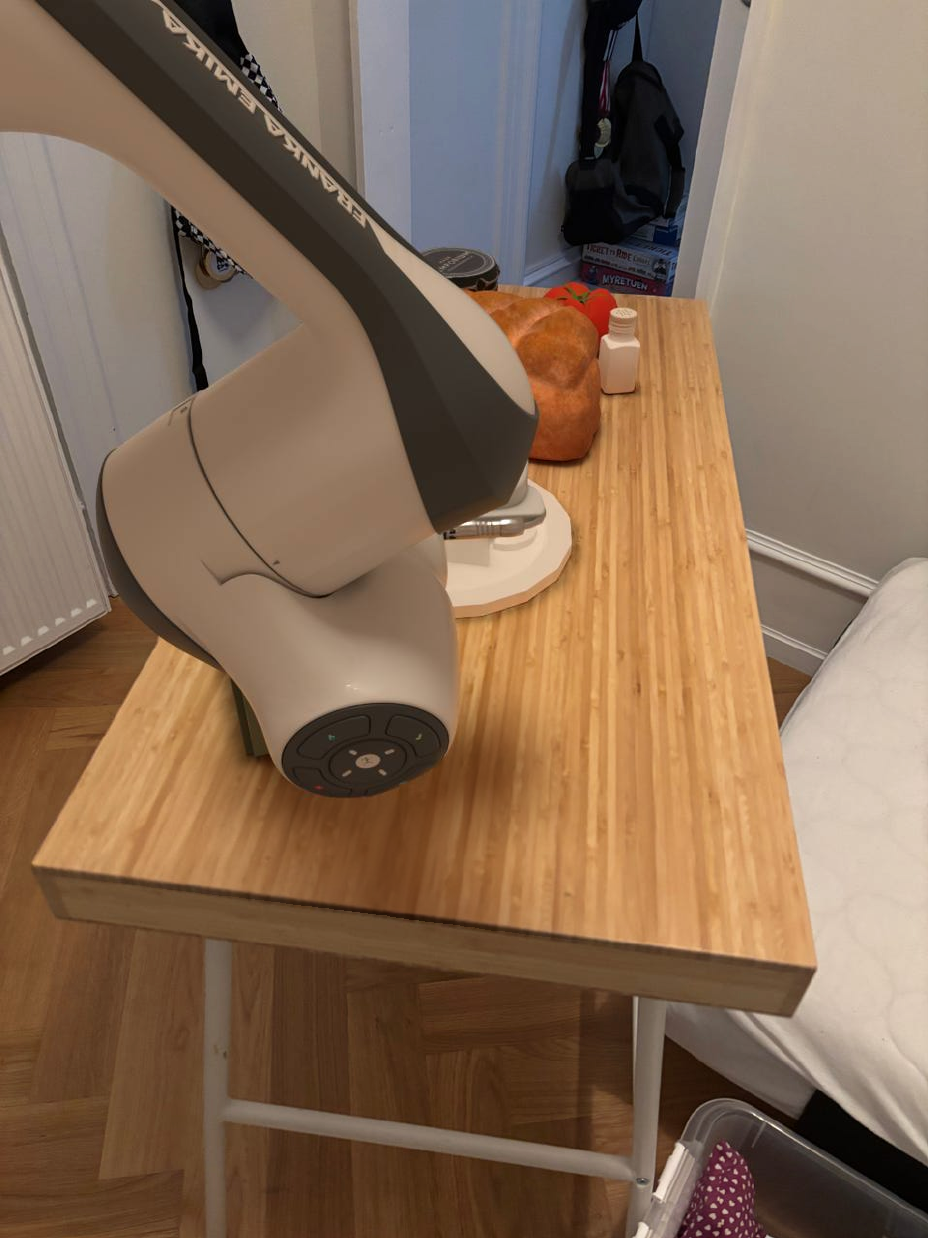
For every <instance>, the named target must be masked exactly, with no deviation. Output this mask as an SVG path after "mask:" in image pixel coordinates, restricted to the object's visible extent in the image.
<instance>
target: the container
mask: <svg viewBox="0 0 928 1238" xmlns="http://www.w3.org/2000/svg"><path fill="white" fill-rule="evenodd" d="M419 252H420V253H421V254H422V255H423V256H424V257H425V258H426V259H427V260H428V261H430V262H431V263H432V264H433V265H434V266H435V267H436V268H437V269H438V270H439V271H440V272H441V273H442V274H443V275H444V276H446V277H447V278H448V279H449V280H450V281H451V282H452V283H453V284H455V285H456V286H457V287H459V288H460V289H465V290H469V291H472V292H478V291H498V290H499V282H498V280H499V277H500V275H501V270H502V269H501V268H500V266H499V265H498V263H497V262H496V259H495V257H493V256H492V255H491V254H489V253H487V252H486V251H483V250H480V249H476V248H471V247H464V246H441V247H431V248H427V249H423V250H420V251H419ZM498 292H499V291H498Z"/></svg>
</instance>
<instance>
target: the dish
mask: <svg viewBox="0 0 928 1238" xmlns="http://www.w3.org/2000/svg"><path fill="white" fill-rule="evenodd" d="M527 484H528V485H530V486H532V487H534V488H536V489H537V490H538V491H539V492H540V494H541V496H542V499H543V502H544V505H545V509H546V517H545V519H544V521H543V523H542V524H540V525H537V526H535V527H533V528H530V529H525V530H524V534H523V535H520V536H516V537H505V538H504V537H498V538H486V539H464V540H444V543H445V550H446V557H447V564H448V578H447V585H446V589H445V590H446V591H447V593H448V595H449V598H450V600H451V602H452V605H453V609H454V613H455V619H463V618H475V617H476V618H477V617H484V616H488V615H490V614H493V613H497V612H500V611H504V610H506V609H509V608H512V607H515V606H518V605H522V604H524V603H527V602H528V601H529V600H531V599H533V598H534V597H536V595H538V594H540V593H541V592H542V591H544V590H545V589H547V588H549V586H551V585H552V584H553V583H555V582H556V581H557V580H558V579H559V577H560V576H561V573H562V572H563V570H564V568H565V566H566V564H567V563H568V561H569V560H570V557H571V556H572V547H573V539H572V537H573V536H572V526H571V525H572V524H571V517H570V516H569V515H568V513H567V511H566V510H565V509H564V507H563V506H562V504H561V503H560V502H559V501H558V499H557V497H556V496H555V495H554V494H553V493H551V492H549V490H546V489H545V488H544V487H542V486H541V485H539V484H537V483H536V482H534V481H533V480H531V479H530V478H528V483H527Z"/></svg>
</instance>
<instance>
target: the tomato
mask: <svg viewBox="0 0 928 1238" xmlns="http://www.w3.org/2000/svg"><path fill="white" fill-rule="evenodd" d="M542 297H547V298H551V299H556V300H557V301H559V302H561V303H562V304H563V305H564V306H565V307H568V306H572V307H574V308H575V309H577V310H578V311H579V312H581V313H583V314H584V315H585V316H586V317H587V318H588V319H589V320H590V321H591V322H592V323H593V325H594V326H595V328H596V329H597V332H598V351H600V344H601V338H602V337H603V336H604V335H607V334H609V320H610V311H611V310H613V309H616V308H619V307H618V303H617V300H616V298H615V297H614V296H613V295H612V293H610V291H609V290H608V289H607V288H600V287H599V288H596V289H594V290H590V289H589V288H588V287H587V286H586V285H585V284H582V283H579V282H576V281H575V282H565V283H562V286H553V287H552V288H551V289H550V290H548V291H547V292H546V293H545V294H544V295H543V296H542Z"/></svg>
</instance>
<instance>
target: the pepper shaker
mask: <svg viewBox="0 0 928 1238" xmlns="http://www.w3.org/2000/svg"><path fill="white" fill-rule="evenodd" d="M637 320H638V311H636V310H634V309H632V308H630V307H618V308H616V309H613V310H611V311H610V320H609V334H607V335H604V336H603V337H602V338H601V344H600V349H599V352H598V353H599V355H598V365H599V368H600V377H601V390H602V391H603V392H604V393H605V394H609V395H611V394H621V393H622V394H623V393H631V392H634V390H635V388H636V381H637V373H638V366H639V357H640V352H641V351H640V349H641V343H640V341H639V339H638V338H637V337H636V336H635V331H636V329H637Z"/></svg>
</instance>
